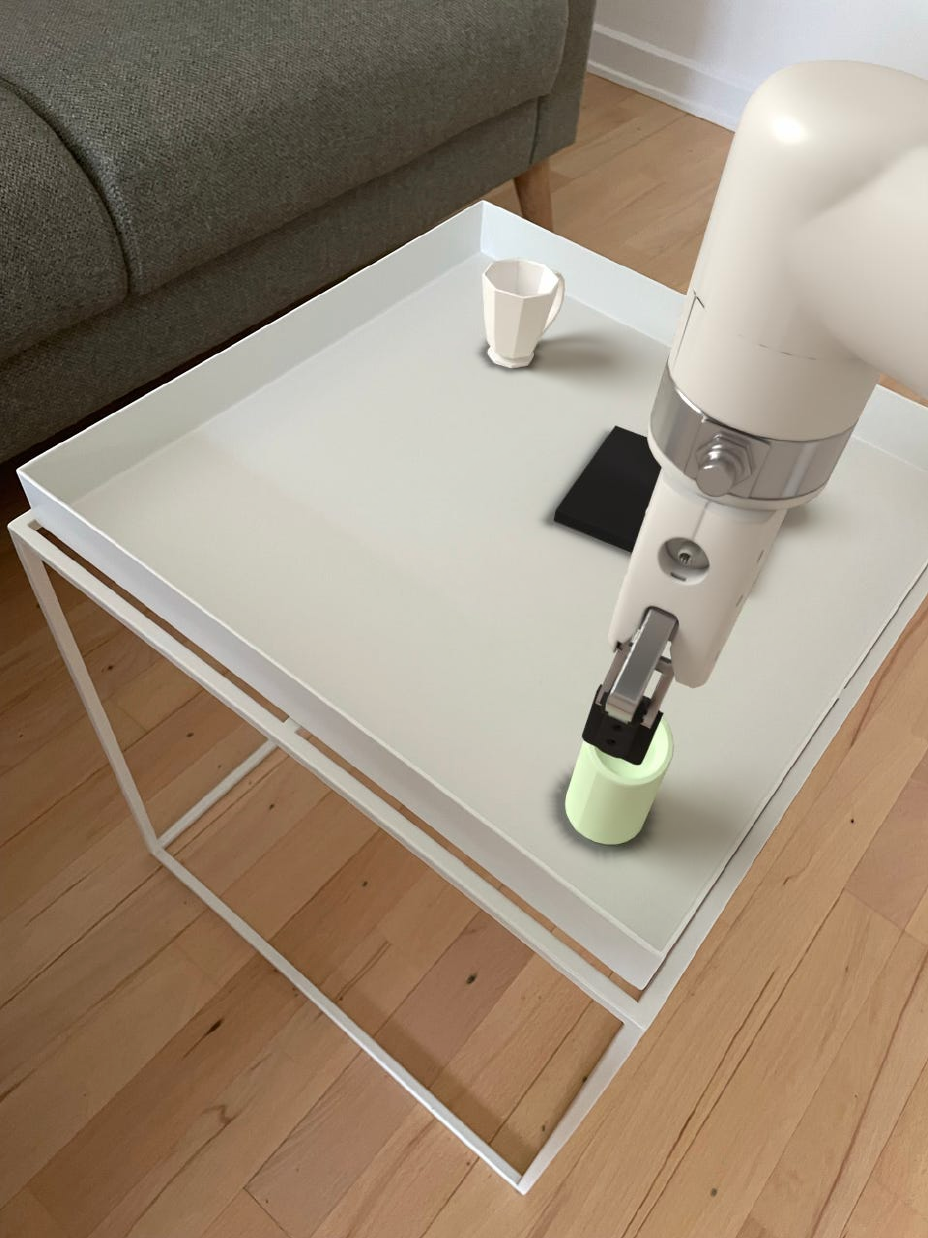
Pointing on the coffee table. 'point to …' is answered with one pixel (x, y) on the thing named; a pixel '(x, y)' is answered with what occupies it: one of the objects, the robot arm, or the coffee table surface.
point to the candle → (616, 790)
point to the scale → (613, 490)
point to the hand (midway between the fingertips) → (645, 682)
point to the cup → (519, 308)
